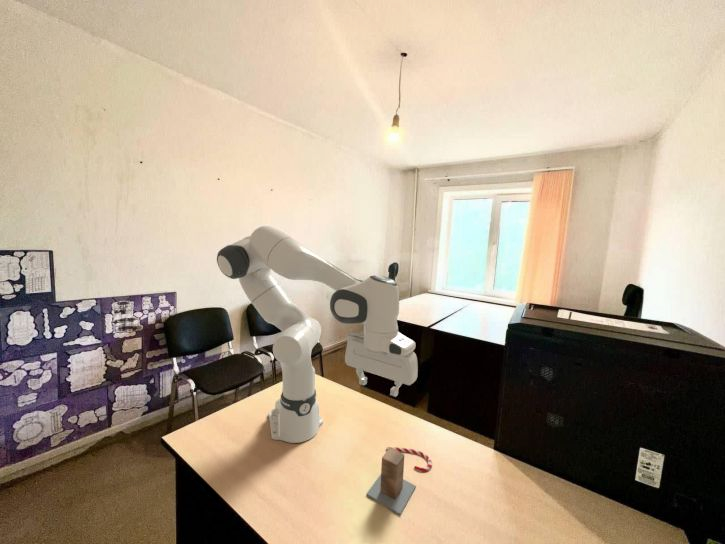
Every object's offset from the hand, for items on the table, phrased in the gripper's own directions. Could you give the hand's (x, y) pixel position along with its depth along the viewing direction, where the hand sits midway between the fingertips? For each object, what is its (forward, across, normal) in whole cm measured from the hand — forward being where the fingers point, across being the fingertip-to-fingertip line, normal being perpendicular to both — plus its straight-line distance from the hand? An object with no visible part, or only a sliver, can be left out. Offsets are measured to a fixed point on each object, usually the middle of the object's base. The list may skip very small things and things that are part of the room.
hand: (378, 389), depth 76 cm
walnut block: (+29, +4, +2) cm, 29 cm away
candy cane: (+30, +3, +16) cm, 34 cm away
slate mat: (+29, +4, +2) cm, 30 cm away
